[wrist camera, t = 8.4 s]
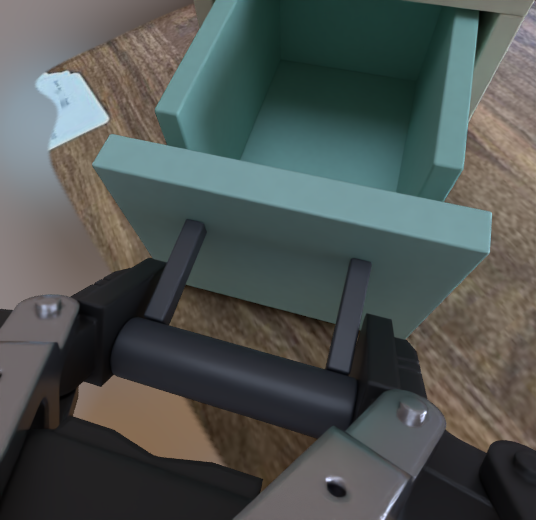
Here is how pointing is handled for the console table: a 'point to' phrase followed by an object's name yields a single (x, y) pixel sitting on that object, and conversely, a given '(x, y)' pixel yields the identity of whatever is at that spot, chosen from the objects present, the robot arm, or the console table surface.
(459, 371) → the console table surface
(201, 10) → the tan drawer cabinet
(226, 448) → the console table surface
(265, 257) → the teal pull-out drawer
